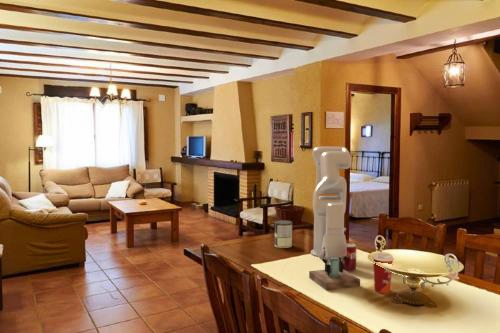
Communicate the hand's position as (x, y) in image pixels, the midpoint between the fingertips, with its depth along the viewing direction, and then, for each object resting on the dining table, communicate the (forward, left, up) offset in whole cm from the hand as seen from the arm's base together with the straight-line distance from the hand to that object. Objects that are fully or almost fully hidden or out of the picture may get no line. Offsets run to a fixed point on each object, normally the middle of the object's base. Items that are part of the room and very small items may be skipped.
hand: (334, 271), depth 178 cm
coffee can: (-2, -63, -5) cm, 63 cm away
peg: (0, 0, -4) cm, 4 cm away
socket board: (0, 0, -4) cm, 4 cm away
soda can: (-15, -13, -5) cm, 20 cm away
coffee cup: (-14, +15, -5) cm, 21 cm away
